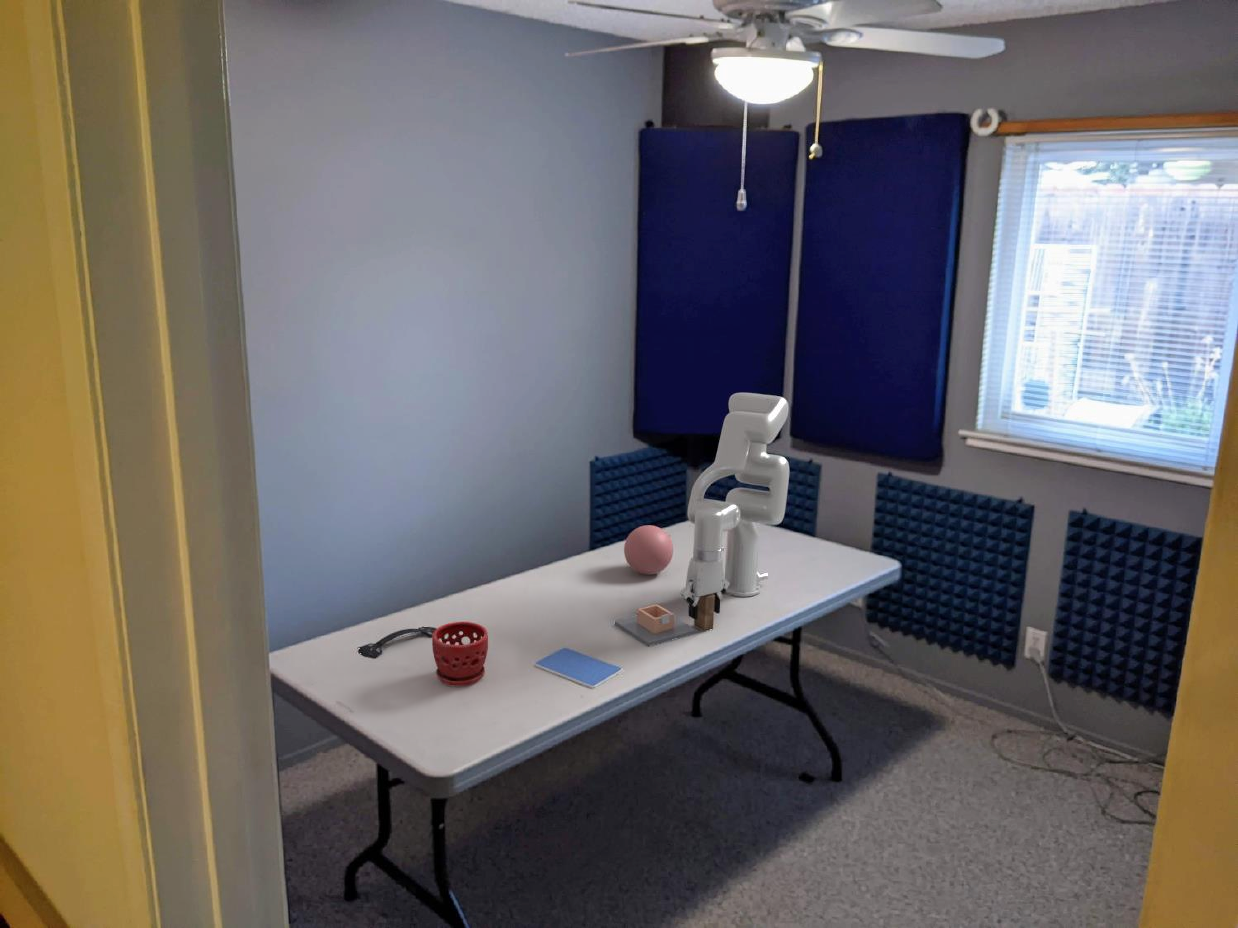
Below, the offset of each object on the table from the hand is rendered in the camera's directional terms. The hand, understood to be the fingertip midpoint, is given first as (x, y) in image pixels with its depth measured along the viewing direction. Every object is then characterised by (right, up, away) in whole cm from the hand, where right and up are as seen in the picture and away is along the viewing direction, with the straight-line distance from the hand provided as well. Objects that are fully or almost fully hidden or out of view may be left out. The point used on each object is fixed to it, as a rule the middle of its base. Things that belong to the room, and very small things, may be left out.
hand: (704, 614), depth 259 cm
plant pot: (-61, -11, -31) cm, 69 cm away
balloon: (-13, +7, +42) cm, 44 cm away
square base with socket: (-13, -4, -1) cm, 14 cm away
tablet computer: (-33, -10, -24) cm, 42 cm away
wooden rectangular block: (0, -4, +1) cm, 4 cm away
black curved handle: (-80, -6, -12) cm, 81 cm away
